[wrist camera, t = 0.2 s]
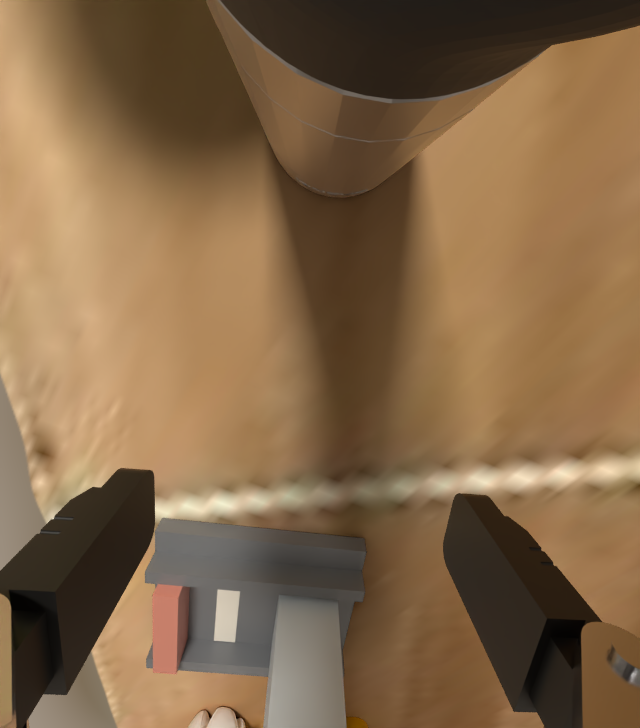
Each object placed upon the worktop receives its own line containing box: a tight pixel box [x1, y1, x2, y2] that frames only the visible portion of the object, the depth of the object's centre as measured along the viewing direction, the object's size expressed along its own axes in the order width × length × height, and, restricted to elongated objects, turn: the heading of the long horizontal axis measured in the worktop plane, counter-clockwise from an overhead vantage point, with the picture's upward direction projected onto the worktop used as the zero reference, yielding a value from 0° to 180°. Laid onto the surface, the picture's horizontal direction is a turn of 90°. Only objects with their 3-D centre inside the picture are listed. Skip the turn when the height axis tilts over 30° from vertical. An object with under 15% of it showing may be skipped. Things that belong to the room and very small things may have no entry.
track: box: [145, 518, 367, 677], centre depth 32 cm, size 16×18×4 cm
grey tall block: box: [263, 595, 347, 728], centre depth 27 cm, size 8×5×14 cm, turn 172°
